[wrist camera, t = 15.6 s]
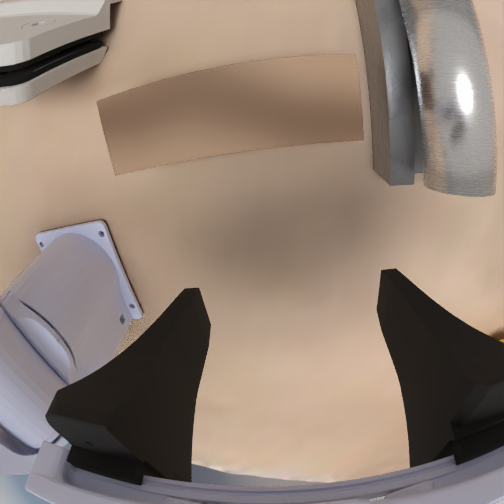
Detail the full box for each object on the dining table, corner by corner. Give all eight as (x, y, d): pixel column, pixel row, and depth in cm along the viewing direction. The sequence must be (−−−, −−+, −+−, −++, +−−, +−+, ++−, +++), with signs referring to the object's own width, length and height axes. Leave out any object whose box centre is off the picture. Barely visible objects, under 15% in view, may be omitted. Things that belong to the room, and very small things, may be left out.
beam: (340, 124, 17) (364, 140, 13) (150, 151, 18) (115, 175, 14) (333, 61, 15) (355, 54, 11) (137, 93, 16) (96, 101, 12)
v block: (450, 166, 17) (474, 182, 15) (373, 169, 18) (390, 185, 15) (438, -1, 11) (462, -9, 9) (352, -12, 12) (367, -27, 9)
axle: (473, 179, 14) (510, 196, 10) (413, 178, 15) (440, 196, 11) (453, 12, 10) (484, -9, 6) (389, 3, 11) (409, -25, 7)
